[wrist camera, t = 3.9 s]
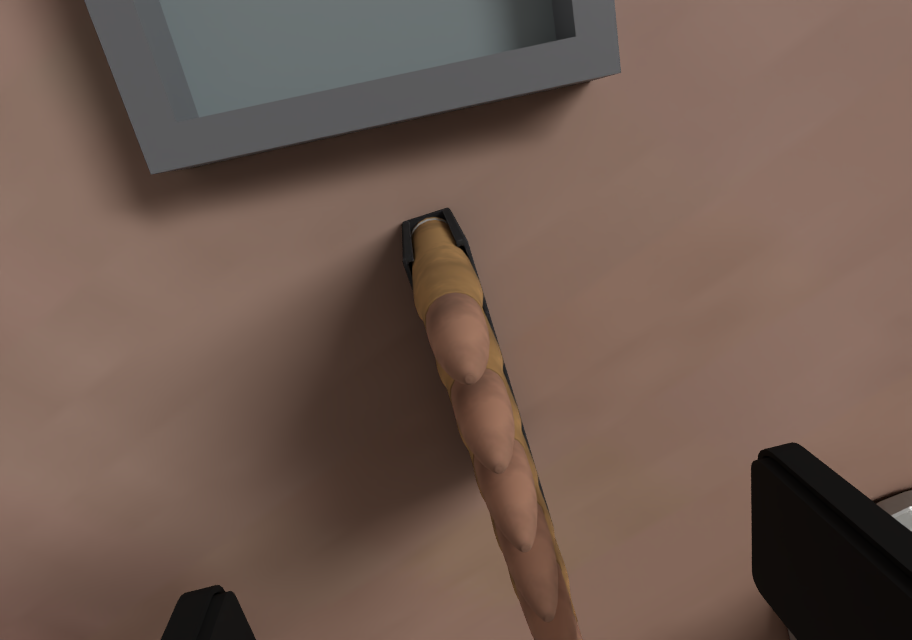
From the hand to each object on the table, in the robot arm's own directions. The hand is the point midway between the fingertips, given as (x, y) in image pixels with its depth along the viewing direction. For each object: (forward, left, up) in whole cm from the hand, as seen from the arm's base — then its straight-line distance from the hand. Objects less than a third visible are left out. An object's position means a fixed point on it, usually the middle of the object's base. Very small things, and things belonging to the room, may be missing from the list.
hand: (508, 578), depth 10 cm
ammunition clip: (-1, +1, -12) cm, 12 cm away
